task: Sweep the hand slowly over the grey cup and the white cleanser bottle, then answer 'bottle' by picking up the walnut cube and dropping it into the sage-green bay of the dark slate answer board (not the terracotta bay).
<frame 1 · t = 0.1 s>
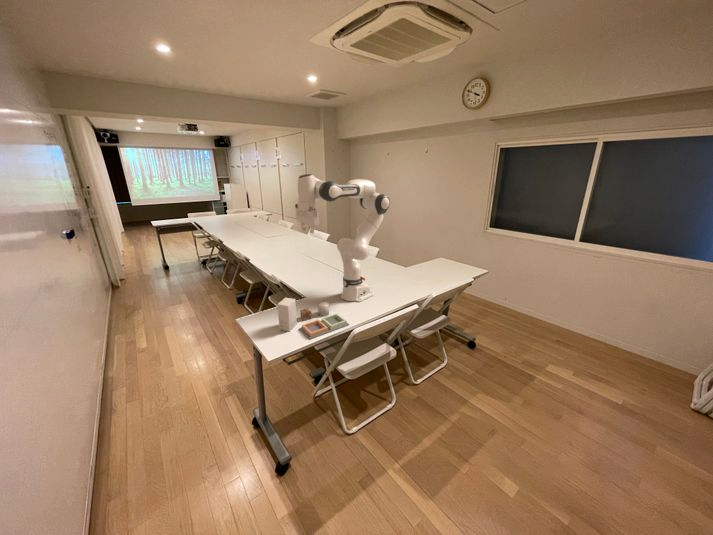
hand: (307, 231, 150), 48 cm above the table, fingers open, 8 cm apart
answer board: (324, 326, 148), on the table
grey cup: (323, 313, 162), on the table
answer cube: (306, 318, 156), on the table
skincare box: (288, 327, 147), on the table
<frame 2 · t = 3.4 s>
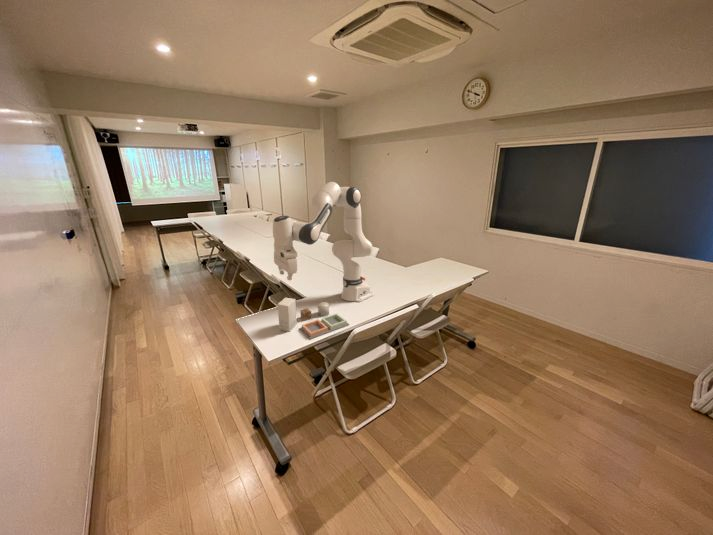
hand: (285, 277, 137), 29 cm above the table, fingers open, 8 cm apart
nothing on the table moved.
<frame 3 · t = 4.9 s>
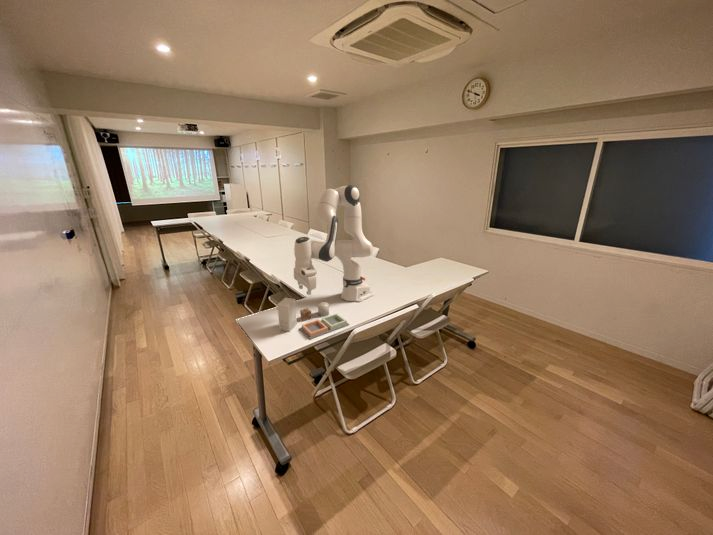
hand: (304, 291, 151), 17 cm above the table, fingers open, 8 cm apart
nothing on the table moved.
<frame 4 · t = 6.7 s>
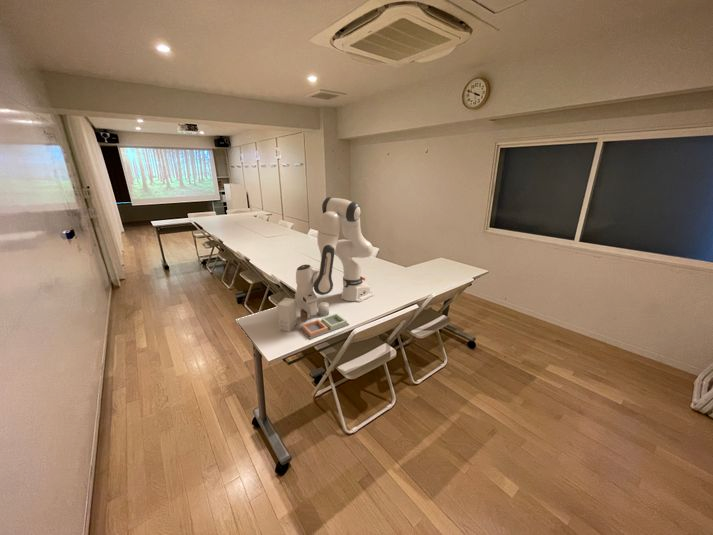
hand: (306, 315, 156), 2 cm above the table, fingers closed on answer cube, 4 cm apart
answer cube: (306, 318, 156), on the table, touching gripper
everything else where it was.
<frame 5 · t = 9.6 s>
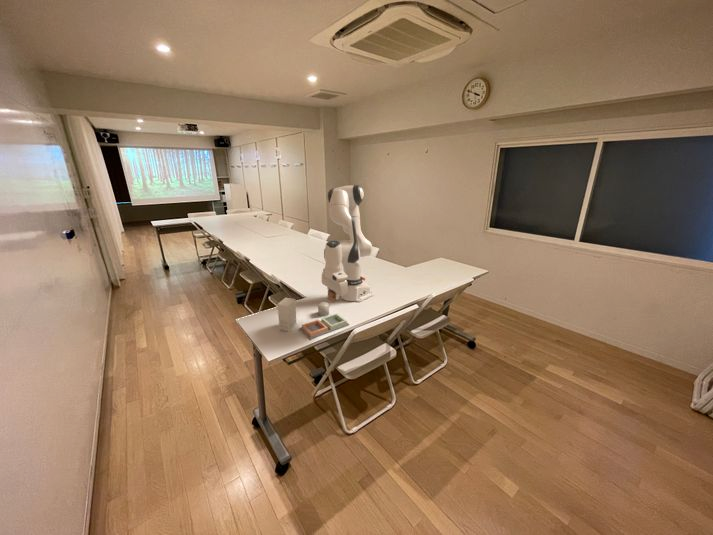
hand: (333, 296, 146), 16 cm above the table, fingers closed on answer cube, 4 cm apart
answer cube: (333, 299, 146), point 15 cm above the table, touching gripper
everything else where it was.
when the fingers open (4 cm above the table, at t = 12.1 s): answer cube drops 2 cm, resting on answer board.
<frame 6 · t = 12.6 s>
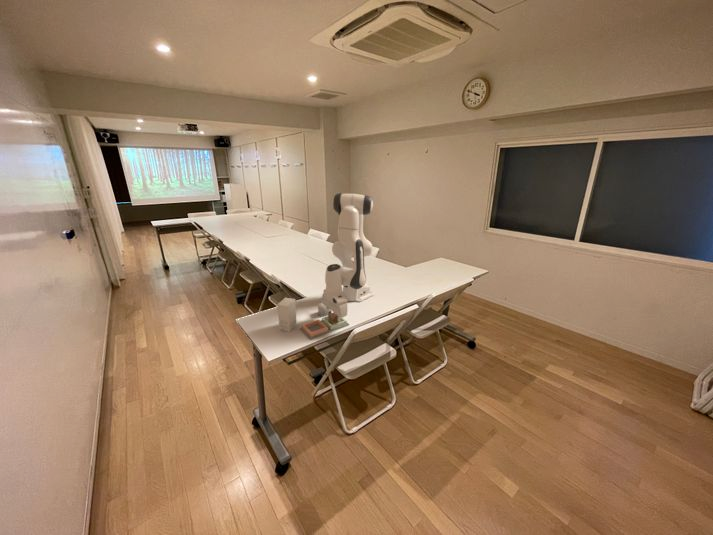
hand: (334, 317, 150), 4 cm above the table, fingers open, 8 cm apart
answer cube: (334, 322, 151), point 1 cm above the table, touching answer board
everything else where it was.
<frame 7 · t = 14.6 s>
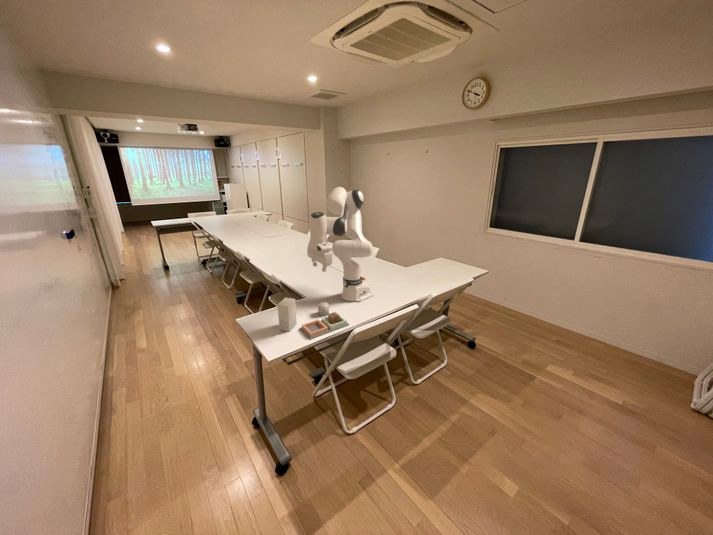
hand: (319, 268, 148), 30 cm above the table, fingers open, 8 cm apart
nothing on the table moved.
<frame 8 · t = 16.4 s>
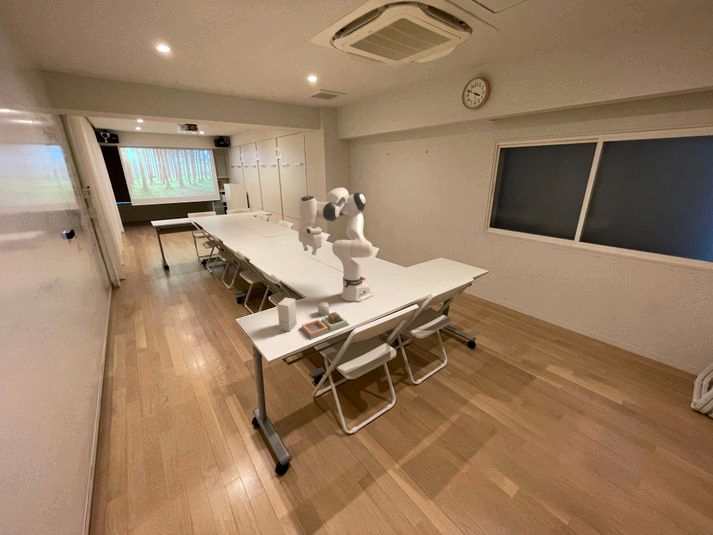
hand: (309, 252, 150), 37 cm above the table, fingers open, 8 cm apart
nothing on the table moved.
at the end: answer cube inside the target area on the answer board (0.1 cm from its centre), point 0.6 cm above the answer board's base; the gripper is holding nothing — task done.
